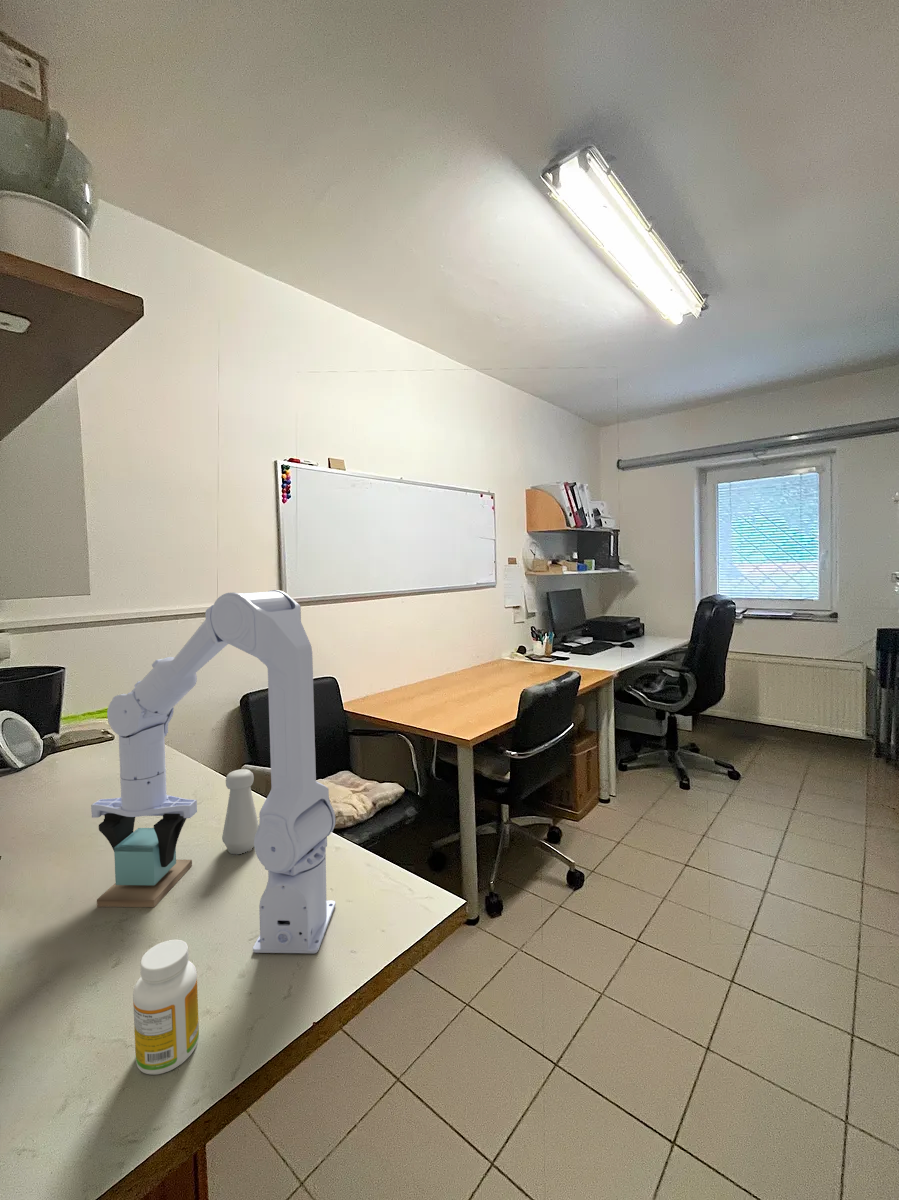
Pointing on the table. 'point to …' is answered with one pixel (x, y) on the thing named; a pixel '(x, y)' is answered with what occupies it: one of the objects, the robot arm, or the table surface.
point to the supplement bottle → (165, 1008)
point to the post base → (144, 890)
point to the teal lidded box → (139, 859)
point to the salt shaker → (240, 813)
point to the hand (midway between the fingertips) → (146, 863)
